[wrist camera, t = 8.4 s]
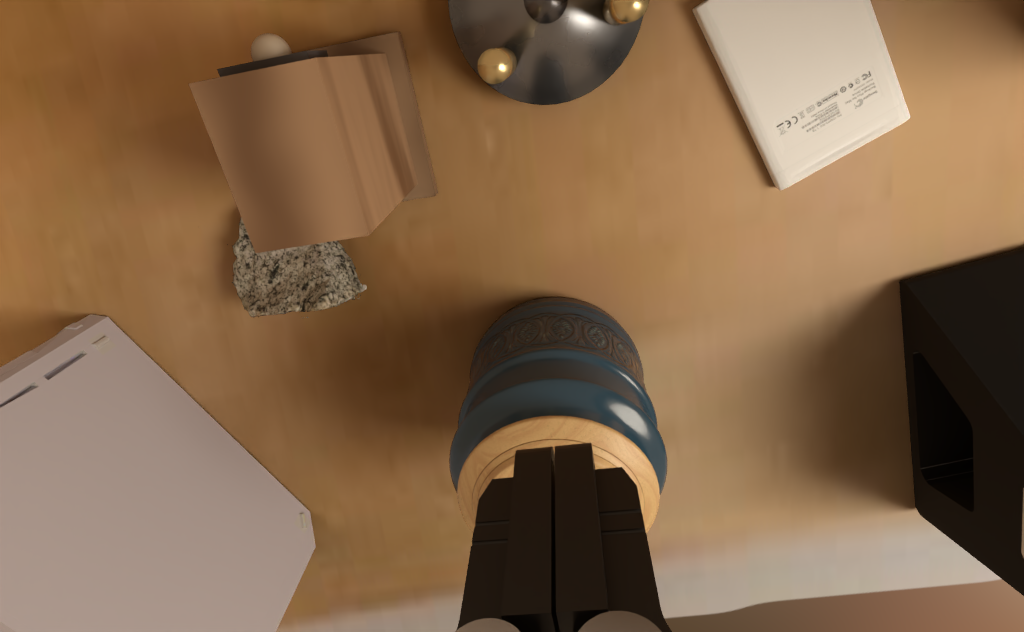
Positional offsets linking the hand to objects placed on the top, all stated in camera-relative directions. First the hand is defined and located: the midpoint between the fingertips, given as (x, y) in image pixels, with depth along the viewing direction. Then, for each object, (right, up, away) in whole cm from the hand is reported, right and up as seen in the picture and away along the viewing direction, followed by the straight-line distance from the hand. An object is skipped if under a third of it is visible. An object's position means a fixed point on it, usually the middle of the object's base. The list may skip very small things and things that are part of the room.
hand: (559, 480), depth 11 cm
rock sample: (-17, +8, +30) cm, 35 cm away
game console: (-28, -8, +38) cm, 48 cm away
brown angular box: (-11, +16, +25) cm, 32 cm away
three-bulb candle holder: (+1, +22, +22) cm, 31 cm away
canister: (+3, -1, +33) cm, 33 cm away
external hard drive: (+16, +19, +23) cm, 34 cm away
